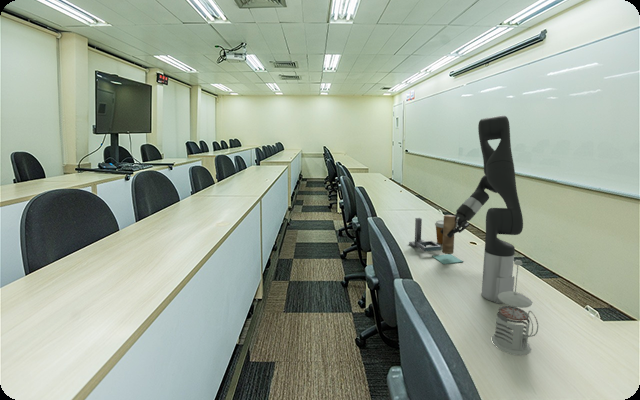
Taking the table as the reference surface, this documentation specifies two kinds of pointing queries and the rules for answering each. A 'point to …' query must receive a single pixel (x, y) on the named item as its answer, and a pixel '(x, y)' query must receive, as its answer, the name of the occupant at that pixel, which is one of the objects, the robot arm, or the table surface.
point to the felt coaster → (447, 259)
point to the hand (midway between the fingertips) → (445, 234)
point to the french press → (503, 334)
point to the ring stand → (419, 242)
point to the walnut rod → (447, 227)
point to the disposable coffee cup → (438, 228)
